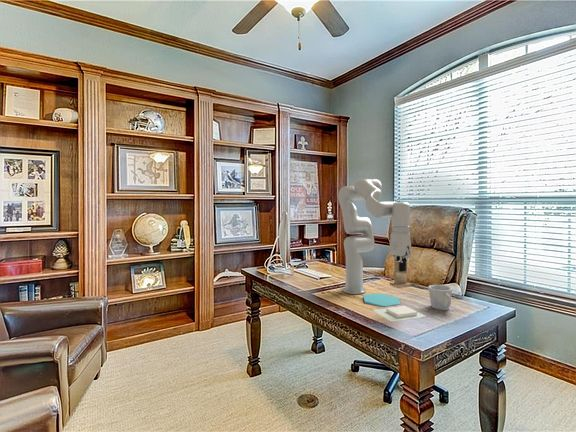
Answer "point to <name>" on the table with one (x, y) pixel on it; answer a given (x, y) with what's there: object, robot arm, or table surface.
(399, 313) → the tile
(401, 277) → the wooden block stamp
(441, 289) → the mug
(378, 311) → the board
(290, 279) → the table surface
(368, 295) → the plaque
